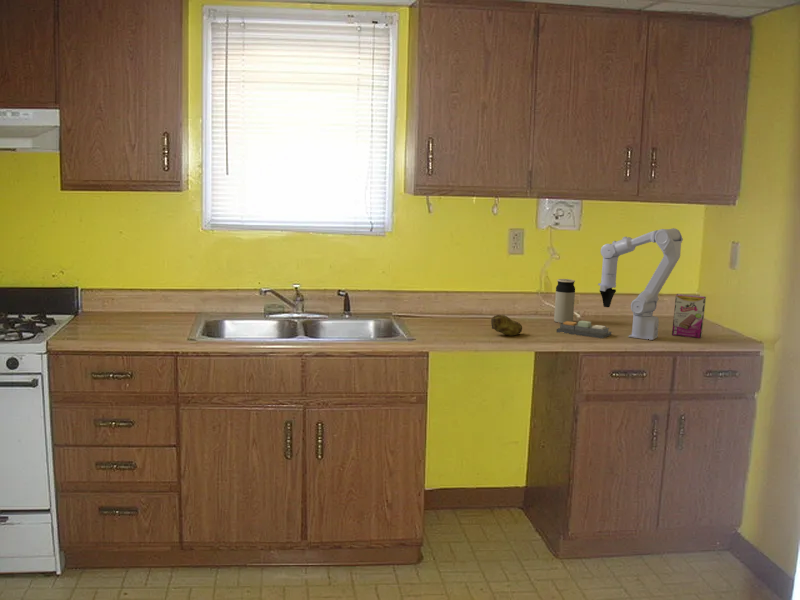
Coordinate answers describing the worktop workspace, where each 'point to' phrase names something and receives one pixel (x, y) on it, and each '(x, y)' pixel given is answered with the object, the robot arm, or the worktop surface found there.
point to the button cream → (599, 327)
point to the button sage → (584, 323)
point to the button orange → (569, 323)
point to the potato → (505, 325)
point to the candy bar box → (688, 315)
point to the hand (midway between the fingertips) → (606, 306)
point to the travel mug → (564, 300)
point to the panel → (584, 331)
